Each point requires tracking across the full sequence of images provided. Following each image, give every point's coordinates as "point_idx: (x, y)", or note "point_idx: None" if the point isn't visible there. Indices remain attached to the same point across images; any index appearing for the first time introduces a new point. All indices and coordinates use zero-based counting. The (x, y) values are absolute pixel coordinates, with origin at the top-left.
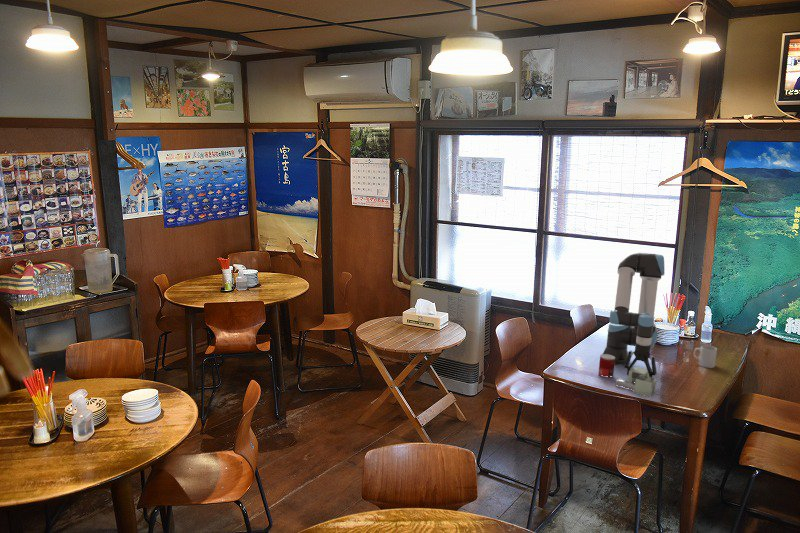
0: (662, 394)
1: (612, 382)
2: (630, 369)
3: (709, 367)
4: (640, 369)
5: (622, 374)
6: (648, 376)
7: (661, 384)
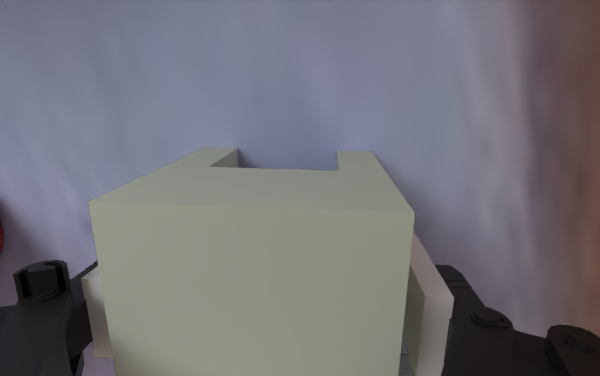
0: None
1: (83, 352)
2: (85, 308)
3: None
4: (240, 314)
5: (23, 58)
6: (430, 366)
7: (526, 39)
